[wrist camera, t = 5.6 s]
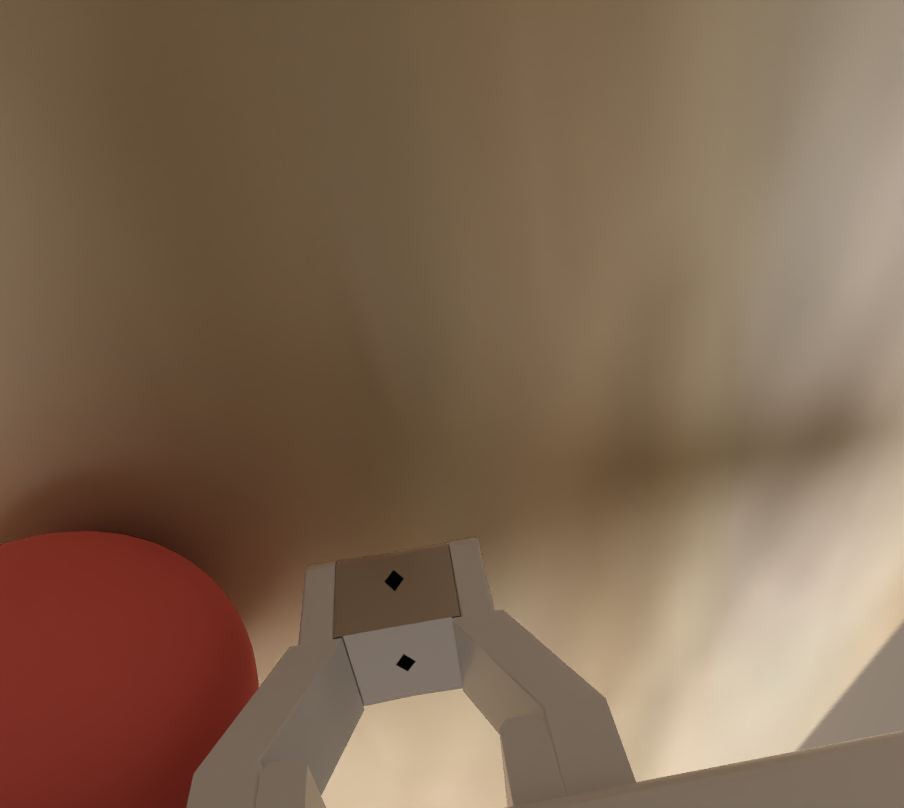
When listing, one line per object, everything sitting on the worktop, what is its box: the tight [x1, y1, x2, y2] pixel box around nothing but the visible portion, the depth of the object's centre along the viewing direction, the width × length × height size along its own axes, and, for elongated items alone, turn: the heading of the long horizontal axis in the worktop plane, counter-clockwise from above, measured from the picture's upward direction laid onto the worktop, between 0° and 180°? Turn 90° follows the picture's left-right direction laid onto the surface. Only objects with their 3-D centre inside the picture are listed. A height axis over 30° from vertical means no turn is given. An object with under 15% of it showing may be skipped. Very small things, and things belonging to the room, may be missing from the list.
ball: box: [0, 531, 259, 808], centre depth 10 cm, size 6×6×6 cm
